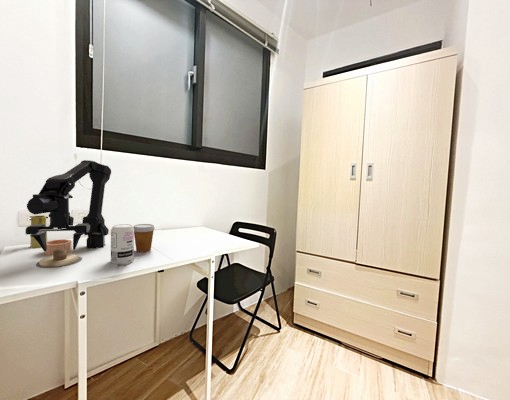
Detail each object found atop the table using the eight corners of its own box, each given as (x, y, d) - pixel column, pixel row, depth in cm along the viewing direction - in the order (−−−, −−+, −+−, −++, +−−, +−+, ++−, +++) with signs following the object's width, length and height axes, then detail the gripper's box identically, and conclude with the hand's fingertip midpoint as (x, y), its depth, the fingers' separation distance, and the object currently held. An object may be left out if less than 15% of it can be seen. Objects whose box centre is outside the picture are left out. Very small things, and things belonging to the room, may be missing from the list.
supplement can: (116, 258, 102) (116, 223, 101) (136, 259, 103) (137, 224, 102) (106, 265, 94) (106, 227, 93) (128, 265, 95) (128, 228, 94)
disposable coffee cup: (158, 249, 117) (159, 225, 116) (142, 254, 109) (142, 228, 108) (144, 246, 121) (145, 222, 120) (127, 251, 113) (127, 225, 112)
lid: (82, 255, 102) (82, 245, 102) (73, 265, 91) (73, 253, 90) (47, 257, 97) (47, 246, 97) (33, 268, 86) (32, 255, 86)
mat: (86, 256, 103) (86, 254, 103) (75, 267, 90) (75, 266, 90) (45, 258, 98) (45, 256, 98) (28, 271, 85) (28, 269, 85)
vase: (37, 249, 109) (36, 217, 108) (26, 247, 110) (25, 216, 109) (51, 245, 115) (50, 216, 114) (40, 244, 116) (40, 214, 115)
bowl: (74, 249, 111) (73, 239, 111) (67, 255, 103) (67, 244, 102) (49, 250, 108) (49, 239, 107) (40, 257, 99) (40, 245, 99)
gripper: (93, 208, 103) (93, 243, 105) (38, 207, 97) (39, 246, 98) (86, 211, 93) (86, 251, 94) (24, 211, 86) (25, 254, 88)
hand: (60, 250), depth 94 cm, fingers open, 9 cm apart
